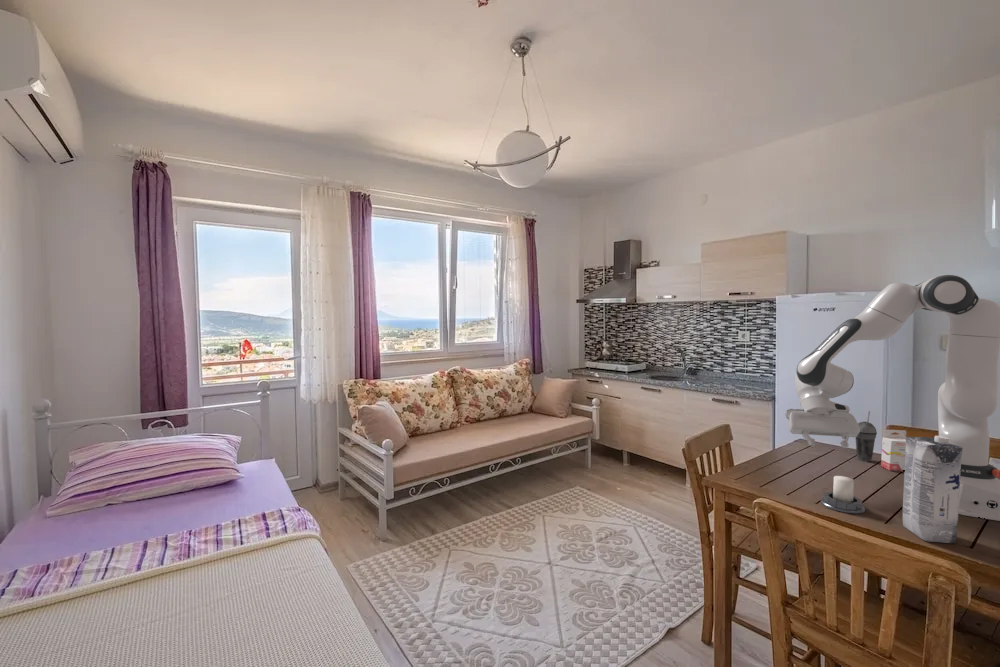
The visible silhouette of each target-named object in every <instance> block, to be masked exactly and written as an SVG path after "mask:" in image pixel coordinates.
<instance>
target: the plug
mask: <svg viewBox="0 0 1000 667" xmlns="http://www.w3.org/2000/svg"><path fill="white" fill-rule="evenodd" d="M832 487H833V490H832V492H833V499H835V500H838V501H842V502H849V503H853V496H854V489H855V479H853V478H850V477H848V476H843V475H834V476H833V486H832Z"/></svg>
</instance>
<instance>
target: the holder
mask: <svg viewBox="0 0 1000 667" xmlns="http://www.w3.org/2000/svg"><path fill="white" fill-rule="evenodd" d="M820 504H821V505H822V506H824V507H825V508H828V509H830V510H833V511H835V510H836V512H839V511H840V512H839V513H843V512H844V513H845V514H849V515H861V514H863V513H866V508H865V506H864V505H863V500H862V499H861V498H859V497H858V496H855V495H853V503H849V502H842V501H838V500H835V499H833V491H827V492H824V493H823V497H822V498H820Z"/></svg>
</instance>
